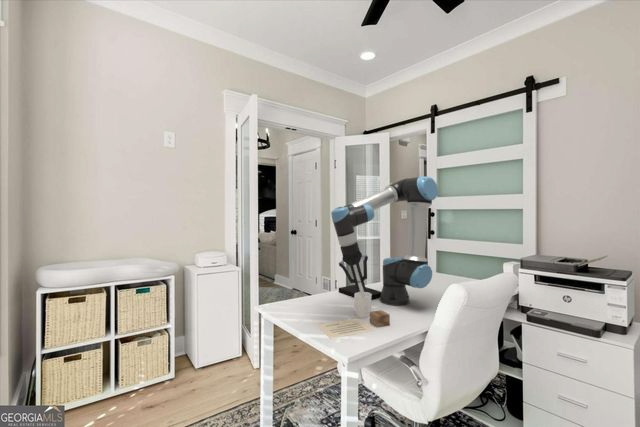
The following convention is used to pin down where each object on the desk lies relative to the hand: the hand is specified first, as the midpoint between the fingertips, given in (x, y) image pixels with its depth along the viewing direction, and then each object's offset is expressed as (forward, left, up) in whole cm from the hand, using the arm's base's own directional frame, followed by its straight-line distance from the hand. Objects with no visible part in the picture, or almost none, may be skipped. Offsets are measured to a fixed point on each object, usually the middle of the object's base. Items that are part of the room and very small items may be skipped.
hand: (363, 296), depth 133 cm
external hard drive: (-20, -40, -12) cm, 46 cm away
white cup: (-5, -9, -12) cm, 15 cm away
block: (-6, +4, -12) cm, 14 cm away
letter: (+9, +1, -12) cm, 15 cm away
